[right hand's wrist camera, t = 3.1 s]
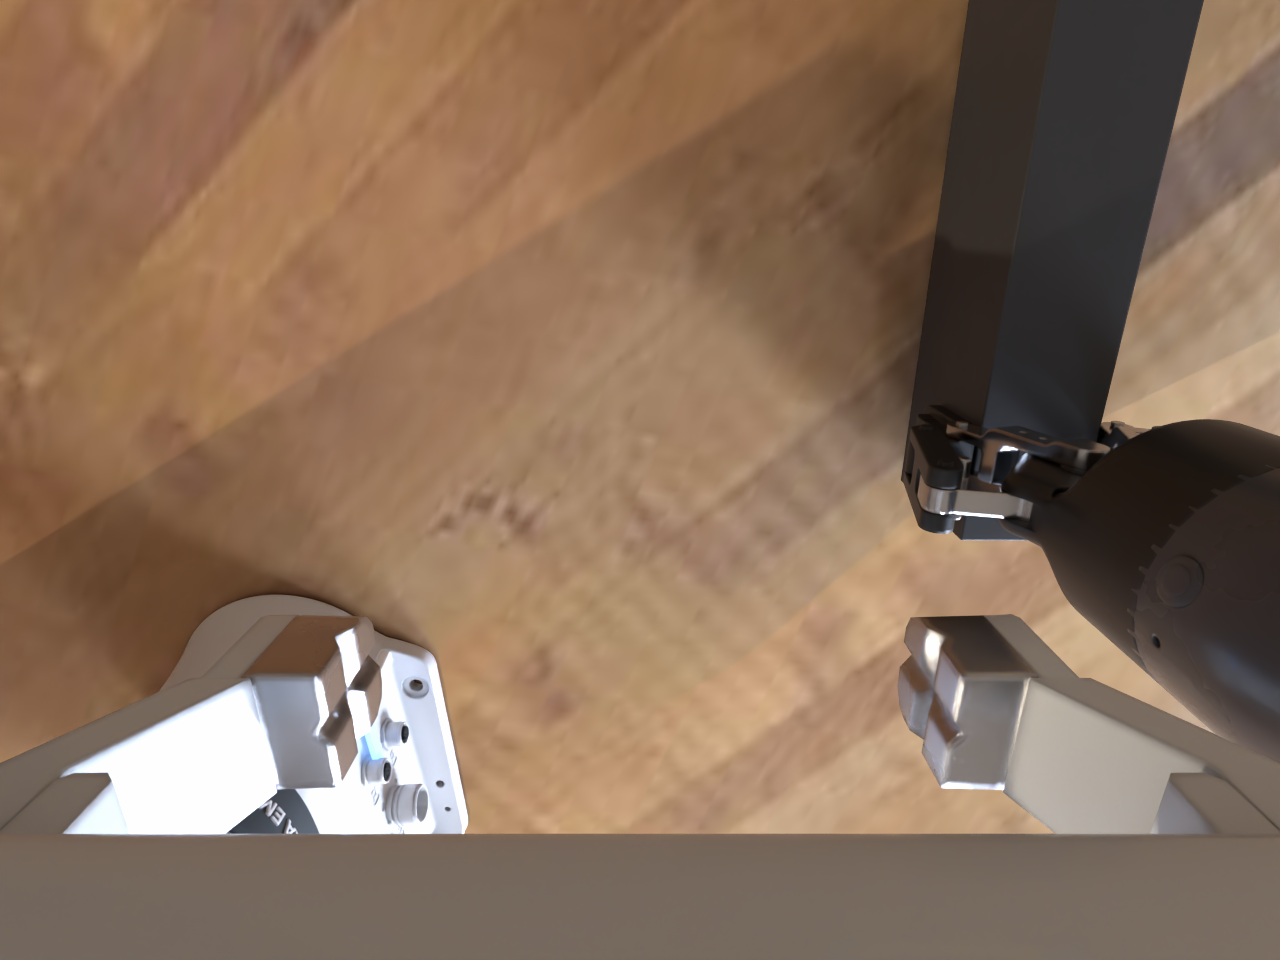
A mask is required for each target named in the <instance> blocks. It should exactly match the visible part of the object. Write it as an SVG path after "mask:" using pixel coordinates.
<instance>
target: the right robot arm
mask: <svg viewBox="0 0 1280 960" xmlns="http://www.w3.org/2000/svg"><path fill="white" fill-rule="evenodd" d="M904 643H905V644H906V646H907V648H908V649H909V651H910V652H911V654H912V655H911V656H910V657H909V658H908V659H907V660H906V661H905V662H904V663H903V664H902V665H901V666H900V670H899V678H898V696H899V705H900V708H901V712H902V715H903V718H904V720H905V722H906V724H907V726H908V728H909V730H910V731H912V732H913V733H915V734H916V735H918V736H919V737H921V738H922V739H924V742H923V748H922V754H923V756H924V758H925V759H926V761H927V763H928V765H929V767H930V769H931V770H932V772H933V774H934V776H935V778H936V780H937V781H938V783H939V785H940V787H941V788H971V789H1003V793H1005V794H1006V795H1007V796H1008V797H1010V798H1011V799H1012V800H1013V801H1015V802H1016V803H1017V804H1018V805H1020V806H1021V807H1022V808H1024V809H1025V810H1026V811H1027V812H1029V813H1030V814H1031V815H1032V816H1034V817H1035V818H1036V819H1037V820H1039V821H1040V822H1041V823H1042V824H1044V825H1045V826H1046V827H1048V828H1049V829H1050V830H1051V831H1053V832H1054V833H1055V834H464V832H465V829H466V827H467V825H468V815H467V810H466V804H465V800H464V795H463V790H462V785H461V780H460V775H459V770H458V766H457V761H456V756H455V751H454V746H453V741H452V736H451V732H450V727H449V722H448V717H447V712H446V707H445V702H444V698H443V693H442V688H441V683H440V678H439V673H438V668H437V664H436V660H435V658H434V656H433V655H432V654H431V653H430V652H429V651H428V650H426V649H424V648H422V647H420V646H418V645H415V644H412V643H408V642H405V641H401V640H397V639H393V638H389V637H386V636H384V635H382V634H380V633H379V632H377V631H375V630H374V628H373V623H372V622H371V621H370V620H369V618H368V617H367V616H352V615H350V614H349V613H347V612H345V611H343V610H341V609H339V608H336V607H334V606H332V605H329V604H326V603H324V602H320V601H317V600H314V599H309V598H305V597H299V596H292V595H261V596H254V597H249V598H245V599H241V600H238V601H235V602H232V603H230V604H228V605H226V606H223V607H222V608H220V609H218V610H217V611H215V612H214V613H212V614H211V615H210V616H208V617H207V618H206V619H205V620H204V621H203V622H202V623H201V624H200V625H199V626H198V627H197V629H196V630H195V631H194V633H193V634H192V636H191V638H190V640H189V642H188V644H187V646H186V649H185V651H184V653H183V655H182V657H181V659H180V660H179V662H178V664H177V665H176V667H175V669H174V670H173V672H172V673H171V675H170V676H169V678H168V679H167V681H166V682H165V684H164V685H163V686H162V688H161V689H160V690H159V692H158V693H155V694H153V695H151V696H149V697H146V698H144V699H142V700H140V701H138V702H135V703H133V704H131V705H129V706H126V707H124V708H122V709H120V710H118V711H115V712H113V713H111V714H109V715H106V716H104V717H102V718H100V719H98V720H95V721H93V722H91V723H89V724H86V725H84V726H82V727H80V728H78V729H75V730H73V731H71V732H69V733H66V734H64V735H62V736H60V737H57V738H55V739H53V740H51V741H49V742H46V743H44V744H42V745H40V746H37V747H35V748H33V749H31V750H29V751H26V752H24V753H22V754H20V755H17V756H15V757H13V758H11V759H9V760H6V761H4V762H2V763H0V960H1280V763H1278V762H1275V761H1273V760H1271V759H1269V758H1267V757H1264V756H1262V755H1260V754H1258V753H1255V752H1253V751H1251V750H1249V749H1247V748H1244V747H1242V746H1240V745H1238V744H1235V743H1233V742H1231V741H1229V740H1227V739H1224V738H1222V737H1220V736H1218V735H1216V734H1213V733H1211V732H1209V731H1207V730H1204V729H1202V728H1200V727H1198V726H1196V725H1193V724H1191V723H1189V722H1187V721H1184V720H1182V719H1180V718H1178V717H1176V716H1173V715H1171V714H1169V713H1167V712H1165V711H1162V710H1160V709H1158V708H1156V707H1153V706H1151V705H1149V704H1147V703H1145V702H1142V701H1140V700H1138V699H1136V698H1133V697H1131V696H1129V695H1127V694H1125V693H1122V692H1120V691H1118V690H1116V689H1113V688H1111V687H1109V686H1107V685H1105V684H1102V683H1100V682H1098V681H1096V680H1094V679H1091V678H1079V677H1078V676H1077V675H1076V674H1075V673H1074V672H1073V671H1072V670H1071V669H1070V668H1069V667H1068V666H1067V665H1066V664H1065V663H1064V662H1063V661H1062V660H1061V659H1060V658H1059V657H1058V656H1057V655H1056V654H1055V653H1054V652H1053V651H1052V650H1051V649H1050V648H1049V647H1048V646H1047V645H1046V644H1045V643H1044V642H1043V641H1042V640H1041V639H1040V638H1039V637H1038V636H1037V635H1036V634H1035V633H1034V632H1033V631H1032V630H1031V628H1030V627H1029V626H1028V625H1027V624H1026V623H1025V622H1024V621H1023V620H1022V619H1021V618H1019V617H1017V616H1014V615H1011V614H1007V615H982V616H945V617H913V618H910V620H909V623H908V625H907V627H906V632H905V638H904ZM414 680H419V681H421V682H422V684H418V683H416V682H415V681H414Z"/></svg>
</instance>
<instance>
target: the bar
mask: <svg viewBox="0 0 1280 960" xmlns="http://www.w3.org/2000/svg"><path fill="white" fill-rule="evenodd" d="M1203 1H1204V0H969V4H968V11H967V18H966V25H965V32H964V39H963V46H962V53H961V60H960V67H959V74H958V81H957V89H956V96H955V103H954V110H953V117H952V124H951V131H950V138H949V145H948V152H947V159H946V166H945V173H944V180H943V187H942V194H941V201H940V208H939V215H938V223H937V230H936V237H935V244H934V251H933V258H932V265H931V272H930V279H929V286H928V293H927V300H926V307H925V314H924V321H923V328H922V335H921V342H920V349H919V357H918V364H917V371H916V378H915V385H914V392H913V399H912V406H911V413H910V420H909V427H908V434H907V441H906V448H905V455H904V462H903V469H902V476H901V481H902V482H903V479H904V472H905V465H906V458H907V451H908V444H909V439H910V431H911V427H912V426H916V425H917V418H918V414H923V413H924V409H925V407H926V406H927V405H942V406H944V407H945V408H947V409H949V410H950V411H952V412H954V413H955V414H957V415H959V416H960V417H962V418H964V419H965V420H967V421H969V422H970V423H972V424H975V425H978V426H981V427H984V428H987V429H992V428H999V427H1008V426H1020V427H1024V428H1027V429H1030V430H1033V431H1037V432H1040V433H1043V434H1047V435H1050V436H1053V437H1056V438H1060V439H1063V440H1070V439H1078V438H1082V439H1086V440H1089V441H1093V442H1097V438H1098V434H1099V430H1100V426H1101V421H1102V417H1103V413H1104V409H1105V405H1106V401H1107V397H1108V393H1109V388H1110V384H1111V380H1112V376H1113V372H1114V368H1115V364H1116V360H1117V356H1118V351H1119V347H1120V343H1121V339H1122V335H1123V331H1124V327H1125V323H1126V318H1127V314H1128V310H1129V306H1130V302H1131V298H1132V294H1133V290H1134V286H1135V281H1136V277H1137V273H1138V269H1139V265H1140V261H1141V257H1142V253H1143V248H1144V244H1145V240H1146V236H1147V232H1148V228H1149V224H1150V220H1151V216H1152V211H1153V207H1154V203H1155V199H1156V195H1157V191H1158V187H1159V183H1160V178H1161V174H1162V170H1163V166H1164V162H1165V158H1166V154H1167V150H1168V146H1169V141H1170V137H1171V133H1172V129H1173V125H1174V121H1175V117H1176V113H1177V108H1178V104H1179V100H1180V96H1181V92H1182V88H1183V84H1184V80H1185V76H1186V71H1187V67H1188V63H1189V59H1190V55H1191V51H1192V47H1193V43H1194V38H1195V34H1196V30H1197V26H1198V22H1199V18H1200V14H1201V10H1202V6H1203ZM1025 453H1027V452H1024V451H1021V450H1020V453H1019V458H1020V457H1021V456H1022V455H1024V454H1025ZM1019 458H1018V459H1019ZM980 460H981V450H980V449H979V448H978V447H977V446H974V450H973V456H972V462H971V467H970V469H973V470H975V471H979V466H980ZM903 483H904V482H903ZM953 532H954V533H955V534H956V535H957V536H958V537H959V538H960V539H961V540H1026V539H1024V538H1021V537H1019V536H1016V535H1014V534H1012V533H1010V532H1008V531H1007V530H1005V529H1004V528H1003V527H1002V526H1001V524H1000V523H999V521H998V519H997V517H986V516H974V515H963V514H962V517H961V519H960V520H955V522H954V528H953Z"/></svg>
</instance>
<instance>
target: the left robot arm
mask: <svg viewBox="0 0 1280 960" xmlns="http://www.w3.org/2000/svg"><path fill="white" fill-rule="evenodd" d="M974 446H977V447H978V448H979V449H980V450H981V460H980V466H979V471H975V470H973V469H970V467H971V462H972V456H973V450H974ZM1020 450H1021V451H1024V452H1027V453H1025V454H1024V455H1022V456H1021V457H1020V458H1019V453H1020ZM1018 458H1019V459H1018ZM903 482H904V485H905V488H906V491H907V494H908V497H909V500H910V503H911V506H912V509H913V511H914V514H915V517H916V520H917V523H918V526H919V527H920V528H922V529H923V530H926V531H929V532H932V533H942V534H943V533H950V532H952V531H953V528H954V522H955V520H960V519H961V517H962V514H963V515H974V516H986V517H997V519H998V521H999V523H1000V524H1001V526H1002V527H1003V528H1004V529H1005V530H1007V531H1008V532H1010V533H1012V534H1014V535H1016V536H1019V537H1021V538H1024V539H1026V540H1028V541H1031V542H1033V543H1035V544H1037V545H1038V546H1040V547H1042V549H1043V551H1044V553H1045V555H1046V557H1047V559H1048V561H1049V563H1050V565H1051V568H1052V570H1053V573H1054V575H1055V577H1056V580H1057V582H1058V584H1059V586H1060V588H1061V590H1062V592H1063V594H1064V595H1065V597H1066V598H1067V600H1068V601H1069V602H1070V604H1071V605H1072V606H1073V607H1074V608H1075V609H1076V610H1077V611H1078V612H1079V613H1080V614H1081V615H1082V616H1083V617H1084V618H1086V619H1087V620H1088V621H1089V622H1090V623H1091V624H1092V625H1093V626H1095V627H1096V628H1097V629H1098V630H1099V631H1100V632H1101V633H1102V634H1104V635H1105V636H1106V637H1107V638H1108V639H1109V640H1110V641H1111V642H1113V643H1114V644H1115V645H1116V646H1117V647H1118V648H1119V649H1120V650H1122V651H1123V652H1124V653H1125V654H1126V655H1127V656H1128V657H1129V658H1131V659H1132V660H1133V661H1134V662H1135V663H1136V664H1137V665H1138V666H1140V667H1141V668H1142V669H1143V670H1144V671H1145V672H1146V673H1147V674H1149V675H1150V676H1151V677H1152V678H1153V679H1154V680H1155V681H1156V682H1157V683H1159V684H1160V685H1161V686H1162V687H1163V688H1164V689H1165V690H1166V691H1168V692H1169V693H1170V694H1171V695H1172V696H1173V697H1174V698H1175V699H1177V700H1178V701H1179V702H1180V703H1181V704H1182V705H1183V706H1184V707H1186V708H1187V709H1188V710H1189V711H1190V712H1191V713H1192V714H1194V715H1195V716H1196V717H1197V718H1198V719H1199V720H1200V721H1201V722H1203V723H1204V724H1205V725H1206V726H1207V727H1208V728H1209V729H1210V730H1212V731H1213V732H1214V733H1215V734H1216V735H1218V736H1220V737H1222V738H1224V739H1227V740H1229V741H1231V742H1233V743H1235V744H1238V745H1240V746H1242V747H1244V748H1247V749H1249V750H1251V751H1253V752H1255V753H1258V754H1260V755H1262V756H1264V757H1267V758H1269V759H1271V760H1273V761H1275V762H1278V763H1280V436H1277V435H1274V434H1271V433H1268V432H1265V431H1262V430H1259V429H1256V428H1253V427H1250V426H1246V425H1243V424H1240V423H1235V422H1231V421H1223V420H1211V419H1201V420H1189V421H1181V422H1176V423H1171V424H1167V425H1163V426H1155V427H1152V429H1144V428H1134V427H1132V426H1130V425H1126V424H1125V423H1124V422H1120V421H1111V422H1103V423H1101V426H1100V430H1099V434H1098V438H1097V442H1093V441H1089V440H1086V439H1082V438H1078V439H1070V440H1063V439H1060V438H1056V437H1053V436H1050V435H1047V434H1043V433H1040V432H1037V431H1033V430H1030V429H1027V428H1024V427H1020V426H1008V427H999V428H992V429H987V428H984V427H981V426H978V425H975V424H972V423H970V422H969V421H967V420H965V419H964V418H962V417H960V416H959V415H957V414H955V413H954V412H952V411H950V410H949V409H947V408H945V407H944V406H942V405H927V406H926V407H925V409H924V413H923V414H918V418H917V425H916V426H912V427H911V431H910V439H909V444H908V451H907V458H906V465H905V472H904V479H903Z"/></svg>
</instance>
